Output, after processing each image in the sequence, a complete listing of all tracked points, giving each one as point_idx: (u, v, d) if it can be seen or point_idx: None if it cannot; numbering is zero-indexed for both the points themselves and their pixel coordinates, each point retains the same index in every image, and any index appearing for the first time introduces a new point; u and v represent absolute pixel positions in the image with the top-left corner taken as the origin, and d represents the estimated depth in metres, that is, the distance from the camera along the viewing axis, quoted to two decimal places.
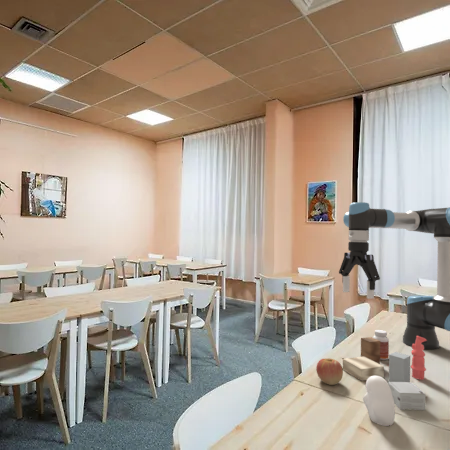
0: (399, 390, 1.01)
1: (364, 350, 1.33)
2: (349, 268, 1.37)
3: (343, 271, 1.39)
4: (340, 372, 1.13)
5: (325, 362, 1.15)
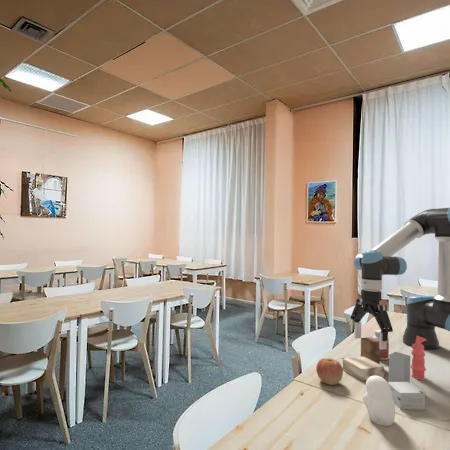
0: (399, 390, 1.01)
1: (364, 350, 1.33)
2: (361, 315, 1.38)
3: (355, 317, 1.40)
4: (340, 372, 1.13)
5: (325, 362, 1.15)
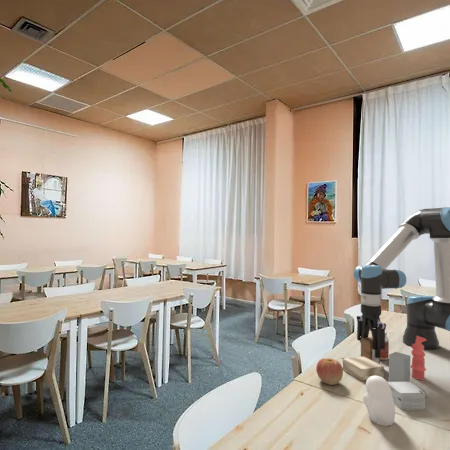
0: (399, 390, 1.01)
1: (364, 349, 1.33)
2: (365, 333, 1.36)
3: None
4: (340, 372, 1.13)
5: (325, 362, 1.15)
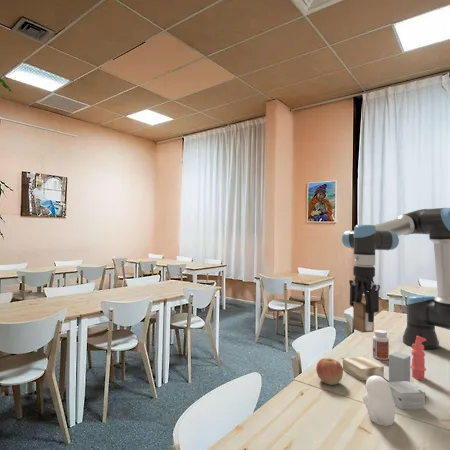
0: (400, 390, 1.01)
1: (357, 314, 1.25)
2: (358, 297, 1.27)
3: (353, 303, 1.29)
4: (340, 372, 1.13)
5: (325, 362, 1.15)
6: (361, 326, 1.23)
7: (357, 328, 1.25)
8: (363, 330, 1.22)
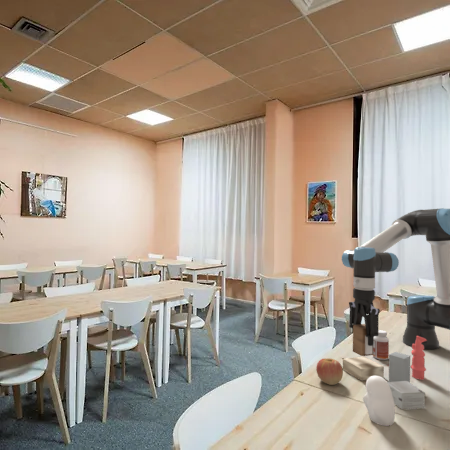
0: (400, 390, 1.01)
1: (357, 337, 1.24)
2: (358, 319, 1.27)
3: None
4: (340, 372, 1.13)
5: (325, 362, 1.15)
6: (361, 349, 1.22)
7: (357, 351, 1.24)
8: (363, 354, 1.22)
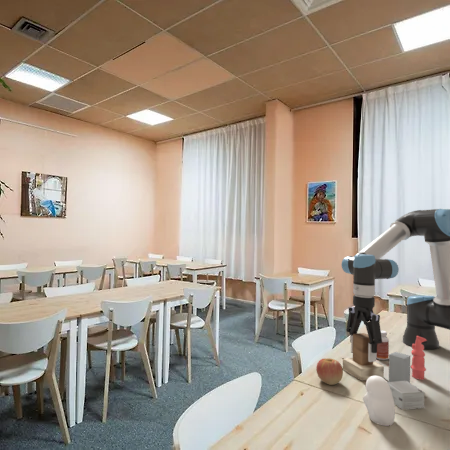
0: (400, 390, 1.01)
1: (357, 346, 1.24)
2: (356, 325, 1.28)
3: (350, 329, 1.30)
4: (340, 372, 1.13)
5: (325, 362, 1.15)
6: (361, 359, 1.22)
7: (357, 360, 1.24)
8: (363, 363, 1.22)
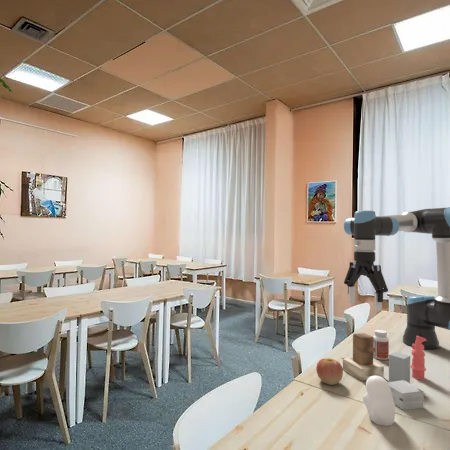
0: (400, 390, 1.01)
1: (357, 346, 1.24)
2: (355, 278, 1.32)
3: (348, 281, 1.34)
4: (340, 372, 1.13)
5: (325, 362, 1.15)
6: (361, 359, 1.22)
7: (357, 360, 1.24)
8: (363, 363, 1.22)
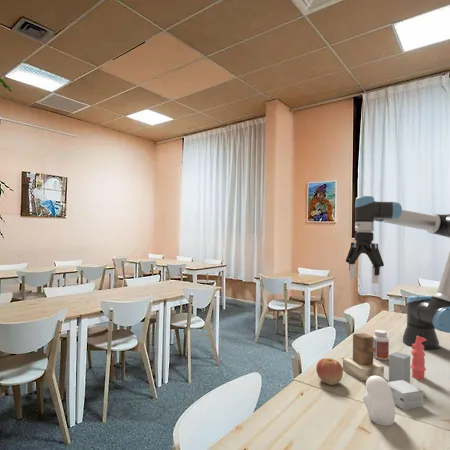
0: (401, 390, 1.01)
1: (357, 346, 1.24)
2: (355, 256, 1.50)
3: (350, 259, 1.52)
4: (340, 372, 1.13)
5: (325, 362, 1.15)
6: (361, 359, 1.22)
7: (357, 360, 1.24)
8: (363, 363, 1.22)
